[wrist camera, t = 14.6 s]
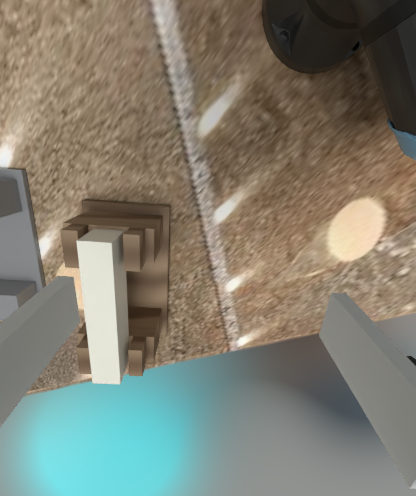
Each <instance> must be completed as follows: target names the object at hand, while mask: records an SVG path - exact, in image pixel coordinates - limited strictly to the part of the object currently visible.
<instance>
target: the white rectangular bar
mask: <svg viewBox="0 0 416 496" xmlns="http://www.w3.org/2000/svg"><path fill="white" fill-rule="evenodd" d="M124 233H125V232H124V231H121V230H107V229H93V230H91V231H90V232H88V233H87V234H85V235H84V236H82V237H81V238H80V239H78V240H77V241H76V242H77V251H78V260H79V269H80V277H81V286H82V295H83V303H84V312H85V321H86V330H87V338H88V347H89V356H90V365H91V373H92V382H93V383H100V384H121V381H122V378H123V376H124V373H125V370H126V367H127V365H128V362H129V358H128V349H129V327H128V303H127V280H126V271H125V268H124V246H123V234H124Z"/></svg>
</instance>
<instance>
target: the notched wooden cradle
mask: <svg viewBox="0 0 416 496" xmlns="http://www.w3.org/2000/svg"><path fill="white" fill-rule="evenodd" d="M82 208H83V214H81V215H78V216H76V217H74V218H72V219H70V220H68V221H66V222H64V223H63V227H64V228H63V229H61V230H60V231H61V238H62V246H63V253H64V260H65V267H69V268H79V260H78V251H77V242H76V241H77V240H78V239H80V238H81V237H82V236H84V235H85V234H87V233H88V232H90V231H91V230H93V229H107V230H121V231H124V232H125V233H124V234H123V246H124V268H125V271H126V280H127V303H128V327H129V349H128V358H129V375H130V376H142V375H143V372H144V368H145V364H146V361H154V359H155V355H156V351H157V346H158V342H159V338H160V336H166V335H167V325H168V283H169V242H170V205H158V204H144V203H130V202H117V201H103V200H89V199H85V200H83V201H82ZM77 334H78V342H79V345H78V346H77V348H76V349H77V356H78V363H79V371H80V374H92V373H91V365H90V356H89V347H88V338H87V330H86V322H85V324H84V325H83V326H82V328H81V329H80V331H79V332H78V333H77Z"/></svg>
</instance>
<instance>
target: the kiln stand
mask: <svg viewBox="0 0 416 496" xmlns="http://www.w3.org/2000/svg"><path fill="white" fill-rule="evenodd" d="M45 286H46V285H45V279H44V273H43V267H42V262H41V256H40V250H39V244H38V238H37V232H36V227H35V221H34V215H33V209H32V203H31V197H30V192H29V186H28V180H27V174H26V170H21V169H8V168H0V320H3V321H4V320H5V319H6V318H7V317H9V316H10V315H11V314H12V313H13V312H15V311H16V310H17V309H18V308H20V307H21V306H22V305H23V304H24V303H26V302H27V301H28V300H29V299H31V298H32V297H33V296H34V295H35V294H37V293H38V292H39V291H40V290H41V289H43V288H44V287H45Z"/></svg>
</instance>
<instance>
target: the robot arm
mask: <svg viewBox="0 0 416 496" xmlns="http://www.w3.org/2000/svg"><path fill="white" fill-rule="evenodd" d="M262 16H263V25H264V30H265V34H266V37H267V40H268V42H269V45H270V47H271V49H272V50H273V52H274V53H275V55H276V56H277V57H278V58H279V59H280V60H281V61H282V62H283V63H284V64H285V65H287V66H288V67H290V68H291V69H293V70H296V71H299V72H303V73H320V72H324V71H327V70H330V69H332V68H334V67H336V66H338V65H339V64H341V63H342V62H344V61H345V60H347V59H348V58H349V57H351V56H352V55H353V54H354V53H356V52H357V51H358V50H359V49H360V48H361V47H362V45H363V44H364V45H365V50H366V53H367V56H368V59H369V62H370V65H371V68H372V71H373V74H374V77H375V80H376V83H377V86H378V89H379V92H380V95H381V98H382V101H383V104H384V107H385V110H386V113H387V116H388V120H387V122H388V126H389V127H390V129H391V130H392V131H393V132H394V133H395V136H396V138H397V141H398V143H399V146H400V148H401V150H402V151H403V153H404V154H405V155H407V156H409V157H411V158H412V159H414V160H416V0H263V5H262ZM366 45H367V46H366ZM79 323H80V318H79V312H78V305H77V298H76V291H75V285H74V278H73V277H67V276H57V277H56V278H55V279H54V280H52V281H51V282H50V283H49V284H48V285H46V286H45V287H44V288H43V289H41V290H40V291H39V292H38V293H37V294H35V295H34V296H33V297H32V298H31V299H29V300H28V301H27V302H26V303H24V304H23V305H22V306H21V307H20V308H18V309H17V310H16V311H15V312H13V313H12V314H11V315H10V316H9V317H7V318H6V319H5V320H4V321H3V322H1V323H0V427H1V425H2V424H3V423H4V421H5V420H6V419H7V417H8V416H9V415H10V413H11V412H12V411H13V409H14V408H15V407H16V406H17V404H18V403H19V402H20V400H21V399H22V398H23V396H24V395H25V394H26V392H27V391H28V390H29V389H30V387H31V386H32V385H33V383H34V382H35V381H36V379H37V378H38V377H39V375H40V374H41V373H42V371H43V370H44V369H45V367H46V366H47V365H48V363H49V362H50V361H51V360H52V358H53V357H54V356H55V354H56V353H57V352H58V350H59V349H60V348H61V346H62V345H63V344H64V342H65V341H66V340H67V338H68V337H69V336H70V334H71V333H72V332H73V331H74V329H75V328H76V327H77V325H78V324H79ZM319 337H320V338H321V340H322V341H323V343H324V345H325V347H326V348H327V350H328V352H329V353H330V355H331V357H332V358H333V360H334V362H335V363H336V365H337V367H338V368H339V370H340V372H341V374H342V375H343V377H344V379H345V380H346V382H347V384H348V385H349V387H350V389H351V390H352V392H353V394H354V395H355V397H356V399H357V400H358V402H359V403H360V405H361V407H362V409H363V410H364V412H365V414H366V415H367V417H368V419H369V420H370V422H371V424H372V426H373V427H374V429H375V431H376V432H377V434H378V436H379V437H380V439H381V441H382V442H383V444H384V446H385V447H386V449H387V451H388V453H389V454H390V456H391V458H392V459H393V461H394V462H395V464H396V466H397V468H398V469H399V471H400V473H401V474H402V476H403V478H404V479H405V481H406V483H407V484H408V486H409V488H410V489H411V488H412V489H416V359H414V358H413V357H411V356H406V355H405V354H404V353H403V352H402V351H401V350H400V349H399V348H398V347H397V346H396V345H395V344H394V343H393V342H392V341H391V340H390V339H389V338H388V337H387V336H386V335H385V334H384V332H382V330H381V329H380V328H379V327H378V326H377V325H376V324H375V323H374V322H373V321H372V320H371V319H370V318H369V317H368V316H367V315H366V314H365V313H364V312H363V311H362V310H361V309H360V308H359V307H358V305H357V304H356V303H355V302H354V301H353V300H352V299H351V298H350V297H349V296H348V295H347V294H343V293H331V296H330V300H329V303H328V306H327V310H326V313H325V317H324V320H323V324H322V327H321V331H320V334H319Z"/></svg>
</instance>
